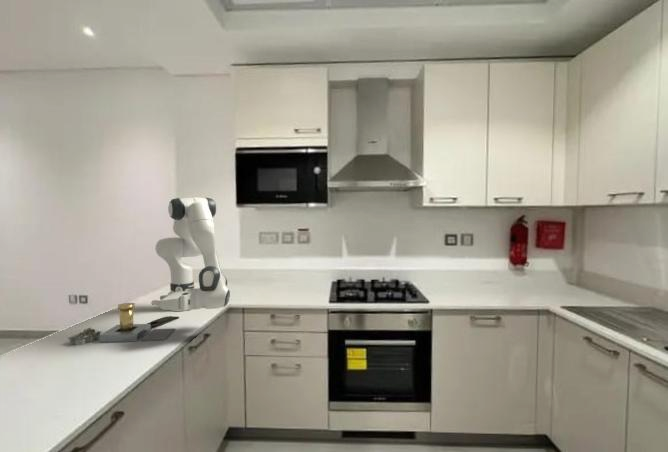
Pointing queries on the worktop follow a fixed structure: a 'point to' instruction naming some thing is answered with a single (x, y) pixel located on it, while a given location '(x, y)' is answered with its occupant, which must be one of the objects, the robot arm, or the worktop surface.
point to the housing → (125, 333)
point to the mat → (158, 334)
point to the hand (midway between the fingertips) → (156, 300)
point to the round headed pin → (126, 316)
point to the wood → (162, 321)
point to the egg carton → (84, 337)
